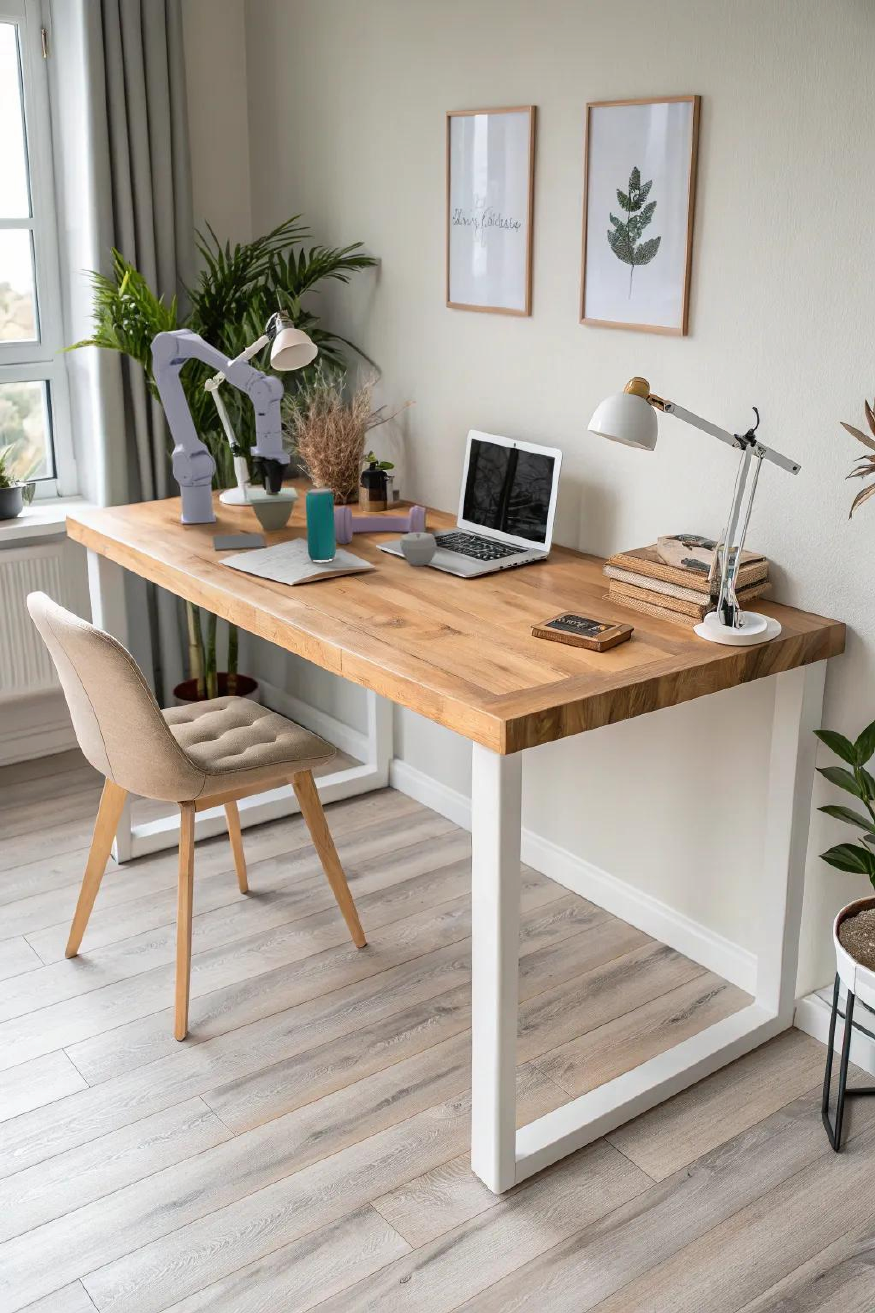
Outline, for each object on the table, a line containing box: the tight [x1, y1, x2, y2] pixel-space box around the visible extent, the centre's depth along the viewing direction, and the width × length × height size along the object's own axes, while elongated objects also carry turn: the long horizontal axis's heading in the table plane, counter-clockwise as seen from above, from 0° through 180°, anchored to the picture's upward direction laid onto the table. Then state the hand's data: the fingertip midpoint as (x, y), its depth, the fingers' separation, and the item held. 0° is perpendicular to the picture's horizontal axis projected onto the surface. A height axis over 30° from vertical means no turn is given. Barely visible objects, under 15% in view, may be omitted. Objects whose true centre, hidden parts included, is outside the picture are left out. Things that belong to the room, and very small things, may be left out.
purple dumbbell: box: [334, 505, 427, 545], centre depth 280 cm, size 20×10×20 cm
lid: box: [246, 476, 300, 504], centre depth 288 cm, size 11×11×5 cm
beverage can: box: [305, 486, 337, 560], centre depth 259 cm, size 6×6×15 cm
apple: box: [399, 532, 438, 567], centre depth 257 cm, size 8×8×7 cm
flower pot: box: [251, 501, 295, 530], centre depth 290 cm, size 10×10×7 cm
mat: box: [212, 532, 267, 552], centre depth 277 cm, size 12×11×1 cm
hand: (272, 490), depth 288 cm, fingers closed on lid, 3 cm apart
